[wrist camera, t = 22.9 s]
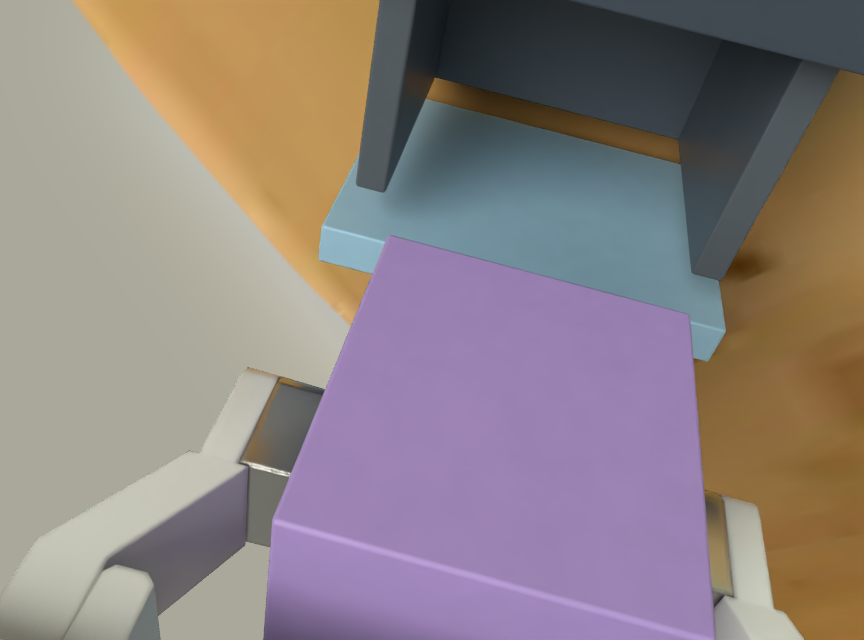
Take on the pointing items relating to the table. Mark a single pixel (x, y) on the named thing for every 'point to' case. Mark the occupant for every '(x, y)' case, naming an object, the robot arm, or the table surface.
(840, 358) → the table surface
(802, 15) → the drawer cabinet
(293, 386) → the robot arm
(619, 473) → the purple block
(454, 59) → the blue drawer
